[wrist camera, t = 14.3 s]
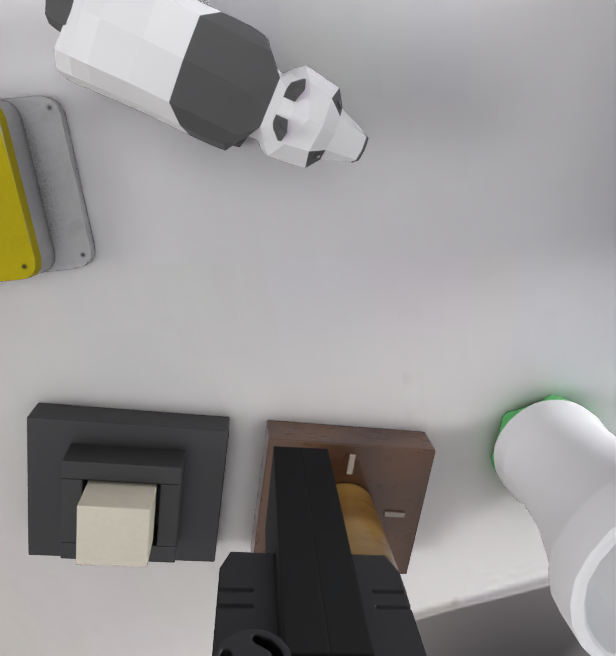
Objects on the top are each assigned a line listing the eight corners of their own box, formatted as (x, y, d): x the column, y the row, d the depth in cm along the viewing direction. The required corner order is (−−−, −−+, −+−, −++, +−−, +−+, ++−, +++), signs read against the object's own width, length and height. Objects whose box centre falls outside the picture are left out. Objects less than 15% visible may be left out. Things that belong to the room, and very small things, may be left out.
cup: (633, 377, 40) (830, 498, 26) (584, 511, 43) (738, 678, 30) (484, 359, 38) (615, 480, 25) (445, 500, 41) (542, 673, 28)
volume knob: (305, 488, 37) (322, 583, 29) (372, 477, 37) (407, 568, 29) (313, 543, 38) (330, 647, 30) (376, 532, 39) (410, 633, 31)
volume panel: (424, 431, 39) (436, 451, 37) (397, 550, 42) (407, 576, 40) (267, 419, 38) (268, 439, 35) (250, 543, 41) (251, 570, 38)
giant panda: (72, 78, 30) (0, 53, 21) (105, -29, 29) (43, -105, 20) (320, 192, 33) (349, 212, 24) (361, 100, 32) (407, 86, 23)
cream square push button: (157, 483, 34) (150, 509, 32) (153, 538, 36) (146, 567, 33) (88, 479, 34) (76, 505, 31) (86, 535, 35) (75, 565, 33)
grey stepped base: (229, 416, 37) (228, 448, 34) (215, 542, 40) (213, 583, 37) (38, 402, 36) (13, 433, 32) (38, 534, 39) (16, 577, 35)
